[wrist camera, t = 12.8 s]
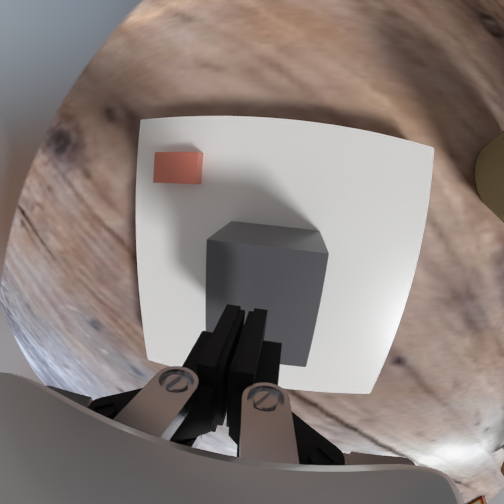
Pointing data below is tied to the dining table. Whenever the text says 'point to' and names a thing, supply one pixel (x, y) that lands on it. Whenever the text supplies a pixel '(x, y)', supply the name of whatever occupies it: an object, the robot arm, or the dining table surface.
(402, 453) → the dining table surface
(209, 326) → the plug
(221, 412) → the robot arm
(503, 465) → the lantern
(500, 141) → the squeeze bottle
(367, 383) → the socket
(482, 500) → the baking soda box
